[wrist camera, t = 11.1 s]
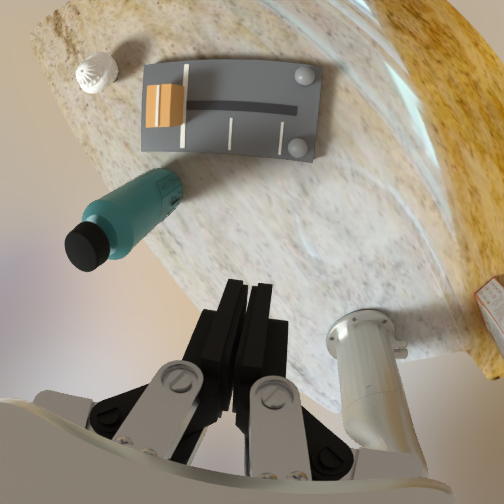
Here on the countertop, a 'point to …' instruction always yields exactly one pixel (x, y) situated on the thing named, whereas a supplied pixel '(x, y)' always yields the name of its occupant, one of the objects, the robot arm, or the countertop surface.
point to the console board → (238, 108)
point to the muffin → (97, 72)
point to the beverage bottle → (122, 218)
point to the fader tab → (164, 105)
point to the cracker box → (493, 311)
